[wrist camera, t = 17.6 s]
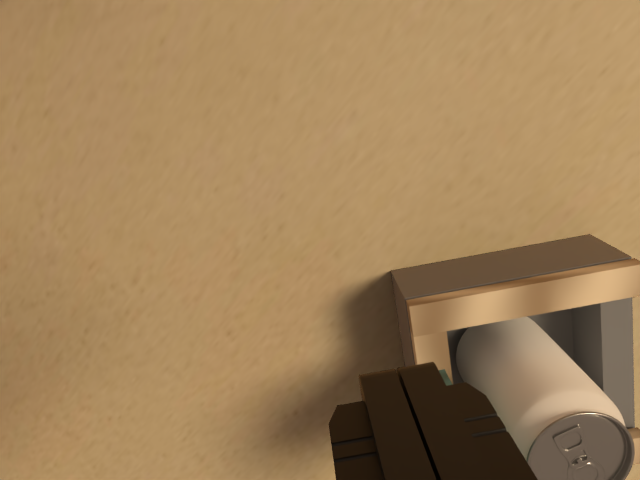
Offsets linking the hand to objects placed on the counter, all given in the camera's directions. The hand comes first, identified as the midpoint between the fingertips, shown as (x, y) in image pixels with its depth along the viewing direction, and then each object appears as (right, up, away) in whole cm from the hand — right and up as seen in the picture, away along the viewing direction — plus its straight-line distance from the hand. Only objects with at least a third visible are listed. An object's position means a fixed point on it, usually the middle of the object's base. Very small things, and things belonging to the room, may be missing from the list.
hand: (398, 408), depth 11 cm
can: (+11, -4, +30) cm, 32 cm away
